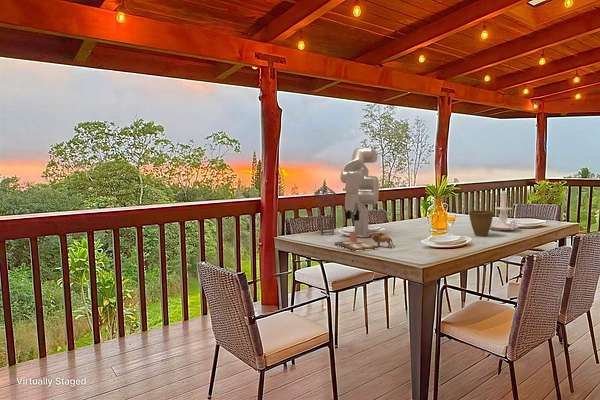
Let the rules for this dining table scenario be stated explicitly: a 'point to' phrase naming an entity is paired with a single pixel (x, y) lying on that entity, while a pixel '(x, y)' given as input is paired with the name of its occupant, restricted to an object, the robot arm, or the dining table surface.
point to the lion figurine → (381, 239)
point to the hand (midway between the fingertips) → (352, 219)
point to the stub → (353, 239)
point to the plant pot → (481, 222)
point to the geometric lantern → (325, 205)
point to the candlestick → (504, 216)
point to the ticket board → (356, 246)
